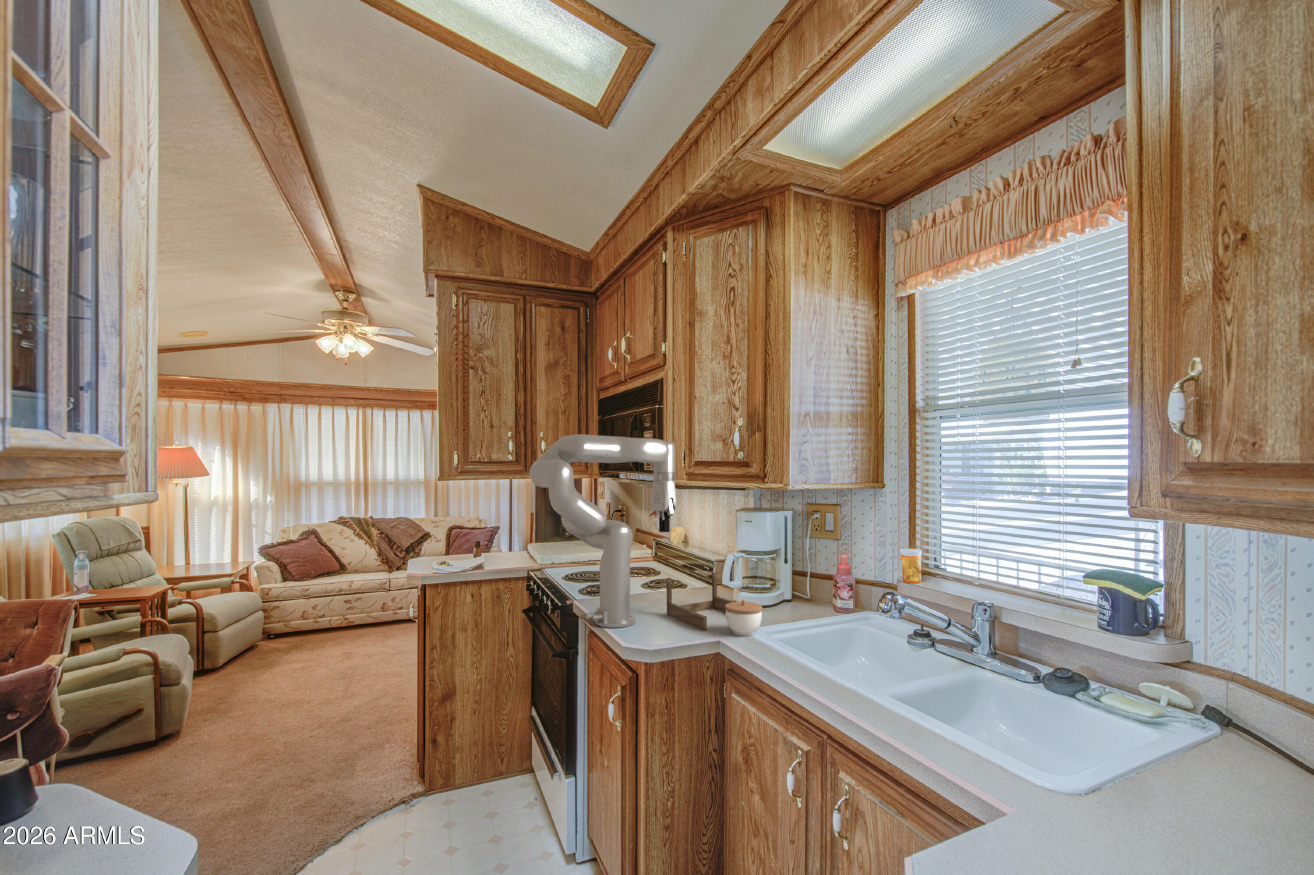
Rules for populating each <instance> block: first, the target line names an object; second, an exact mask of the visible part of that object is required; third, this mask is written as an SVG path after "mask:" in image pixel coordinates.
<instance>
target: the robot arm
mask: <svg viewBox="0 0 1314 875" xmlns="http://www.w3.org/2000/svg"><path fill="white" fill-rule="evenodd" d="M632 462H634V463H635V462H636V463H637V462H638V463H646V464H647V463H653V466H652V467H653V472H652V473H653V479H652V480H653V483H652V489H651V505H650V506H651V510H652V511H654V512H655V514H657V516H658V524H659V526H658V530H659V532H660V533H669V532H670V531H671V530H670V526H671V525H670V524H671V523H670V522H671V517H672V516H673V515H674V511H676V509H677V492H676V490H677V489H676V444H675V443H674V442H672V441H665V440H663V439H659V438H648V437H647V438H646V437H645V438H644V437H630V436H629V437H628V436H627V437H626V436H616V435H615V436H613V435H598V434H597V435H596V434H580V433H579V434H570V435H564V436H562V437H560V438H558V440H556V441H555V442H554V443H553V444H552V445H551V446H549V448H547V450H545V451H544V452H543V453H542V454H541V455H540V456H539V457H538V458H537V459H536V460H535V461H534V462H533V464H532V465H531V467H530V469H529V479H530V480H531V482H532V484H533V485H535V486H537V487H538V488H548V498H549V502H550V505H551V507H552V509H553V510H554V511H555V513H556V514H558V515H560V516H561V517H560V520H561V524H562V526H563V528H564V529H565V530H566V531H567V532H568V533H569V534H571V535H573V536H574V537H576V538H577V539H579V540H580V541H582V542H583V543H585V544H587V545H588V546H590V547H592V548H594V549H597V550H598V549H599V550H603V552H602V553H601V554H602V555H601V557H600V561H599V607H597V608H596V610H594V612H586V613H585V614H584V618H585V620H593V621H594V624H595V625H596V626H598V627H602V628H609V629H610V628H613V629H614V628H615V629H616V628H617V629H618V628H623V627H624V628H625V627H629V626H633V625H634V624H635V623H636V617H635V616H634V615H632V614H631V553H632V545H633V539H634V537H633V536H634V535H633V531H632V529H631V527H630V525H628V524H627V523H626V522H624V521H620V520H612V519H607V517H606V514H605V512H604V511H603V510H602V509H601V507H599V506H598V505H596V504H594V503H592V502H591V501H590V500H588V499H587V498H586V497H584V496H583V495H582V494H581V493H580V492H578V490H577V489H576V487H575V480H574V479H575V476H574V475H575V474H574V469H573V467H572V465H571V463H597V464H598V463H602V464H603V463H604V464H623V463H632Z"/></svg>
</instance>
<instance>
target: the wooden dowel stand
mask: <svg viewBox="0 0 1314 875" xmlns="http://www.w3.org/2000/svg"><path fill="white" fill-rule="evenodd" d="M672 580H673V579H672V578H671V577H666V615H667V616H668V615H669V616H668V617H670V616H671V618H672V617H673V619H675V620H677V619H678V620H677V621H680V622H682V623H684V624H686V625H689V626H691V627H693V628H696V629H698V630H700V631H703V632H706V631H708V621H707V620H708V619H707V616H706V615H703V614H701V613H698V612H702V611H708V610H709V611H710V610H713V609H715V610H717V611H719V612H723V613H725V612H726V610H725V605H726V604H728V603H731V602H734V601H733V600H729V599H727V598H724V597H720V596H718V573H717V572H715V571H714V572H711V588H712V589H711V590H712V591H711V595H712V596H711V598H712V599H711V600H707V601H706V600H705V601H699V602H694V603H688V604H681V605H678V604H675V603H673V599H672V598H673V592H672V591H673V589H672V588H673V587H672Z"/></svg>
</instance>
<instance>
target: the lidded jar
mask: <svg viewBox="0 0 1314 875" xmlns="http://www.w3.org/2000/svg"><path fill="white" fill-rule="evenodd" d="M725 610H726V613H725V619H726V623H727V626H728V628H729V629H730V630H731V631H732V632H733V634H735V635H737V636H742V637H747V636H752V635H751V634H752V633H753V632H755V631H756V632H757V631H758V629H759V628H760V627H761V624H762V618H763V606H762V605H761V604H760V603H758V602H753V601H752V602H751V601H746V599H741V601H733V602H731V603H728V604H726V605H725ZM756 632H755V633H756Z"/></svg>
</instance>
